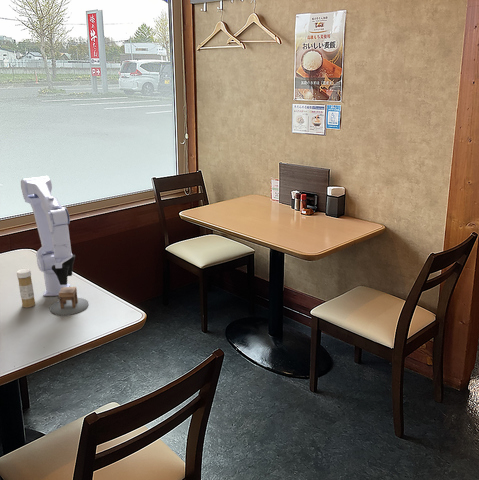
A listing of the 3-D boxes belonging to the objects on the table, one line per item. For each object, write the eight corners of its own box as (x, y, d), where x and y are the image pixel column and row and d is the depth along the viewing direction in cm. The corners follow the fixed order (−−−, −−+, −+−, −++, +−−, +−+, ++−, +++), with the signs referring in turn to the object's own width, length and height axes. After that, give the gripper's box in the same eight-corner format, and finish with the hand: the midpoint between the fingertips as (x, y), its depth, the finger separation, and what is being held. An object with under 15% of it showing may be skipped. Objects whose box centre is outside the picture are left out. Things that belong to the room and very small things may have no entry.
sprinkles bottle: (32, 301, 186) (26, 267, 182) (37, 305, 183) (32, 270, 179) (19, 305, 183) (14, 270, 179) (25, 309, 180) (19, 274, 176)
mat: (55, 299, 187) (55, 298, 187) (91, 298, 188) (91, 296, 188) (45, 316, 175) (45, 314, 174) (84, 314, 176) (84, 312, 176)
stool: (63, 302, 183) (61, 287, 181) (78, 301, 184) (76, 286, 182) (60, 308, 179) (58, 293, 177) (75, 308, 179) (73, 292, 177)
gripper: (54, 237, 180) (59, 272, 185) (43, 251, 167) (49, 288, 171) (75, 236, 181) (79, 271, 185) (65, 250, 167) (70, 288, 171)
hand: (66, 279), depth 178 cm, fingers open, 7 cm apart
